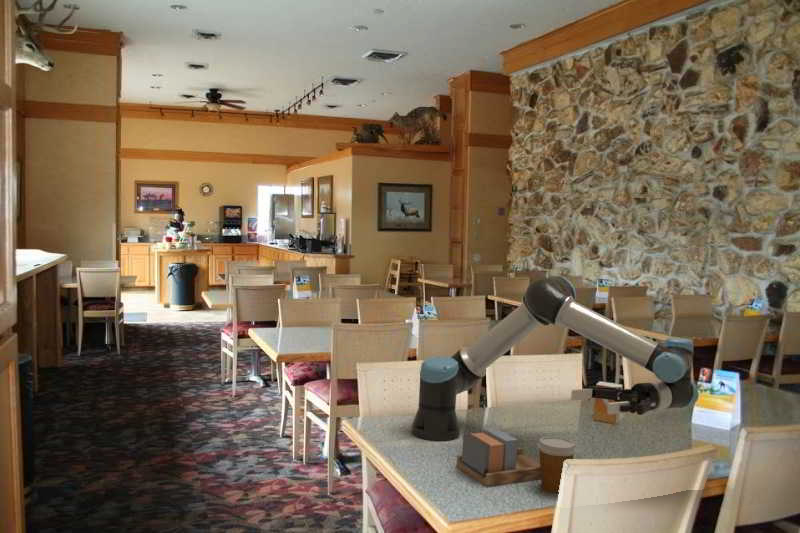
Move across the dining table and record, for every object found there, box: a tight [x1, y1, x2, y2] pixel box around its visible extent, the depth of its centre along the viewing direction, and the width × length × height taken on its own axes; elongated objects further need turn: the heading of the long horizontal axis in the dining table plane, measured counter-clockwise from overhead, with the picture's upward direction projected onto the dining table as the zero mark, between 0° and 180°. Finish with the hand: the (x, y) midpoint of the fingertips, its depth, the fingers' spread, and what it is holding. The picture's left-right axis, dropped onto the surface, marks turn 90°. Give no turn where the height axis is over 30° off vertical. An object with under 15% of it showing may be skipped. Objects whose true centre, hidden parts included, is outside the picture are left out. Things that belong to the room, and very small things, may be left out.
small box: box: [592, 381, 623, 425], centre depth 236 cm, size 8×6×13 cm
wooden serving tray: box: [456, 447, 541, 487], centre depth 181 cm, size 22×15×3 cm
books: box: [471, 427, 518, 473], centre depth 178 cm, size 8×11×9 cm
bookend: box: [460, 431, 490, 478], centre depth 176 cm, size 2×11×8 cm, turn 26°
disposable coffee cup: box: [537, 436, 577, 494], centre depth 170 cm, size 10×10×12 cm
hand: (589, 401), depth 173 cm, fingers open, 13 cm apart
